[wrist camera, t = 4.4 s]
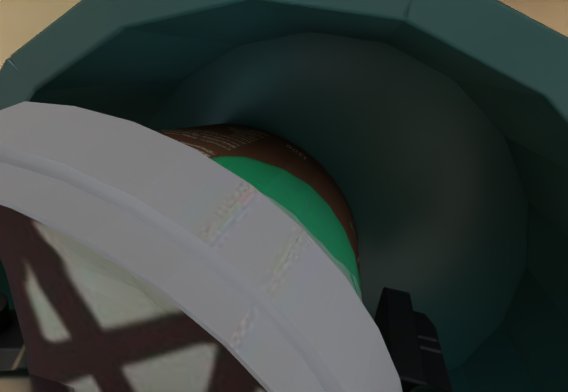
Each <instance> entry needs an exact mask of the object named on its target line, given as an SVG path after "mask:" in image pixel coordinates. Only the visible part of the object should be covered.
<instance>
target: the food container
mask: <svg viewBox="0 0 568 392" xmlns="http://www.w3.org/2000/svg"><path fill="white" fill-rule="evenodd" d="M0 259H1V261H2V263H3V266H4V268H5V271H6V275H7V279H8V282H9V286H10V290H11V294H12V298H13V302H14V305H15V309H16V313H17V317H18V321H19V325H20V329H21V332H22V336H23V340H24V344H25V348H26V355H27V364H28V372H29V373H30V374H33V375H35V376H39V377H43V378H46V379H49V380H52V381H55V382H59V383H62V384H65V385H67V386H70V387H73V388H74V392H403V391H402V386H401V382H400V378H399V376H398V373H397V371H396V369H395V366H394V364H393V361H392V359H391V357H390V354H389V352H388V350H387V347H386V345H385V343H384V340H383V338H382V335H381V333H380V331H379V328H378V327H377V325H376V324H375V322H374V321H373V319H372V317H371V316H370V314H369V313H368V311H367V310H366V308H365V306H364V305H363V303H362V294H361V280H360V265H359V251H358V236H357V230H356V226H355V221H354V217H353V214H352V211H351V209H350V207H349V204H348V202H347V200H346V197H345V196H344V194H343V192H342V191H341V189H340V188H339V186H338V184H337V183H336V181H335V180H334V179H333V177H332V176H331V175H330V174H329V173H328V172H327V171H326V169H325V168H324V167H323V166H322V165H321V164H320V163H319V162H318V161H317V160H315V159H314V158H313V157H312V156H311V155H309V154H308V153H307V152H306V151H305V150H303V149H302V148H300V147H298V146H297V145H295V144H293V143H292V142H290V141H288V140H287V139H285V138H283V137H280V136H278V135H275V134H273V133H271V132H268V131H266V130H262V129H258V128H254V127H250V126H246V125H236V124H224V123H222V124H213V125H204V126H195V127H186V128H176V129H167V130H158V131H153V130H151V129H149V128H147V127H144V126H142V125H140V124H138V123H135V122H132V121H129V120H125V119H121V118H117V117H114V116H110V115H106V114H102V113H99V112H95V111H91V110H87V109H84V108H80V107H76V106H69V105H58V104H47V103H37V102H26V101H24V102H21V103H19V104H16V105H13V106H11V107H8V108H5V109H2V110H0Z"/></svg>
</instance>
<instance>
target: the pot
mask: <svg viewBox="0 0 568 392" xmlns="http://www.w3.org/2000/svg"><path fill="white" fill-rule="evenodd" d="M24 101H26V102H37V103H47V104H58V105H69V106H76V107H80V108H84V109H87V110H91V111H95V112H99V113H102V114H106V115H110V116H114V117H117V118H121V119H125V120H129V121H132V122H135V123H138V124H140V125H142V126H144V127H147V128H149V129H151V130H153V131H158V130H167V129H176V128H186V127H195V126H204V125H213V124H222V123H224V124H236V125H246V126H250V127H254V128H258V129H262V130H266V131H268V132H271V133H273V134H275V135H278V136H280V137H283V138H285V139H287V140H288V141H290V142H292V143H293V144H295V145H297V146H298V147H300V148H302V149H303V150H305V151H306V152H307V153H308V154H309V155H311V156H312V157H313V158H314V159H315V160H317V161H318V162H319V163H320V164H321V165H322V166H323V167H324V168H325V169H326V171H327V172H328V173H329V174H330V175H331V176H332V177H333V179H334V180H335V181H336V183H337V184H338V186H339V188H340V189H341V191H342V192H343V194H344V196H345V197H346V200H347V202H348V204H349V207H350V209H351V211H352V214H353V217H354V221H355V226H356V230H357V236H358V251H359V265H360V280H361V294H362V303H363V305H364V306H365V308H366V310H367V311H368V313H369V314H370V316H371V317H372V319H373V321H374V318H375V314H376V310H377V307H378V303H379V300H380V296H381V293H382V290H383V288H384V287H387V288H392V289H396V290H400V291H404V292H409V293H410V296H411V301H412V307H413V311H416V312H420V313H424V314H426V316H427V317H428V318H429V319H430V321H431V322H432V323H433V324H434V326H435V327H436V331H437V334H438V338H439V343H440V346H441V349H442V354H443V357H444V361H445V364H446V368H447V372H448V376H449V379H450V383H451V387H452V390H453V392H568V37H566V36H564V35H562V34H560V33H558V32H557V31H555V30H553V29H551V28H549V27H547V26H545V25H543V24H541V23H539V22H538V21H536V20H534V19H532V18H530V17H528V16H526V15H524V14H522V13H521V12H519V11H517V10H515V9H513V8H511V7H509V6H507V5H505V4H503V3H502V2H500V1H498V0H81V1H80V2H79V3H78V4H76V5H75V6H74V7H72V8H71V9H70V10H69V11H67V12H66V13H65V14H63V15H62V16H61V17H60V18H58V19H57V20H56V21H54V22H53V23H52V24H51V25H49V26H48V27H47V28H45V29H44V30H43V31H42V32H40V33H39V34H38V35H36V36H35V37H34V38H33V39H31V40H30V41H29V42H27V43H26V44H25V45H24V46H22V47H21V48H20V49H18V50H17V51H16V52H15V53H13V54H12V55H11V57H10V58H8V59H7V60H6V61H5V63H4V64H3V66H2V68H1V70H0V110H2V109H5V108H8V107H11V106H13V105H16V104H19V103H21V102H24ZM0 292H2V293H4V294H5V295H6V296H7V298H8V305H9V310H16V309H15V305H14V302H13V298H12V294H11V290H10V286H9V282H8V279H7V275H6V271H5V268H4V266H3V263H2V261H1V259H0Z"/></svg>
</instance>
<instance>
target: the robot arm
mask: <svg viewBox="0 0 568 392" xmlns="http://www.w3.org/2000/svg"><path fill="white" fill-rule="evenodd" d="M374 322H375V324H376V325H377V327H378V328H379V331H380V333H381V335H382V338H383V340H384V343H385V345H386V347H387V350H388V352H389V354H390V357H391V359H392V361H393V364H394V366H395V369H396V371H397V373H398V376H399V378H400V382H401V386H402V391H403V392H453V390H452V387H451V383H450V379H449V376H448V372H447V368H446V364H445V361H444V357H443V354H442V349H441V346H440V343H439V338H438V334H437V331H436V327H435V326H434V324H433V323H432V322H431V321H430V319H429V318H428V317H427V316H426V314H424V313H420V312H416V311H413V307H412V301H411V296H410V293H409V292H404V291H400V290H396V289H392V288H387V287H384V288H383V290H382V293H381V296H380V300H379V303H378V307H377V310H376V314H375V318H374ZM0 392H74V388H73V387H70V386H67V385H65V384H62V383H59V382H55V381H52V380H49V379H46V378H43V377H39V376H35V375H33V374H30V373H29V372H28V364H27V355H26V348H25V344H24V340H23V336H22V332H21V329H20V325H19V321H18V317H17V313H16V310H9V305H8V298H7V296H6V295H5V294H4V293H2V292H0Z"/></svg>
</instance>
